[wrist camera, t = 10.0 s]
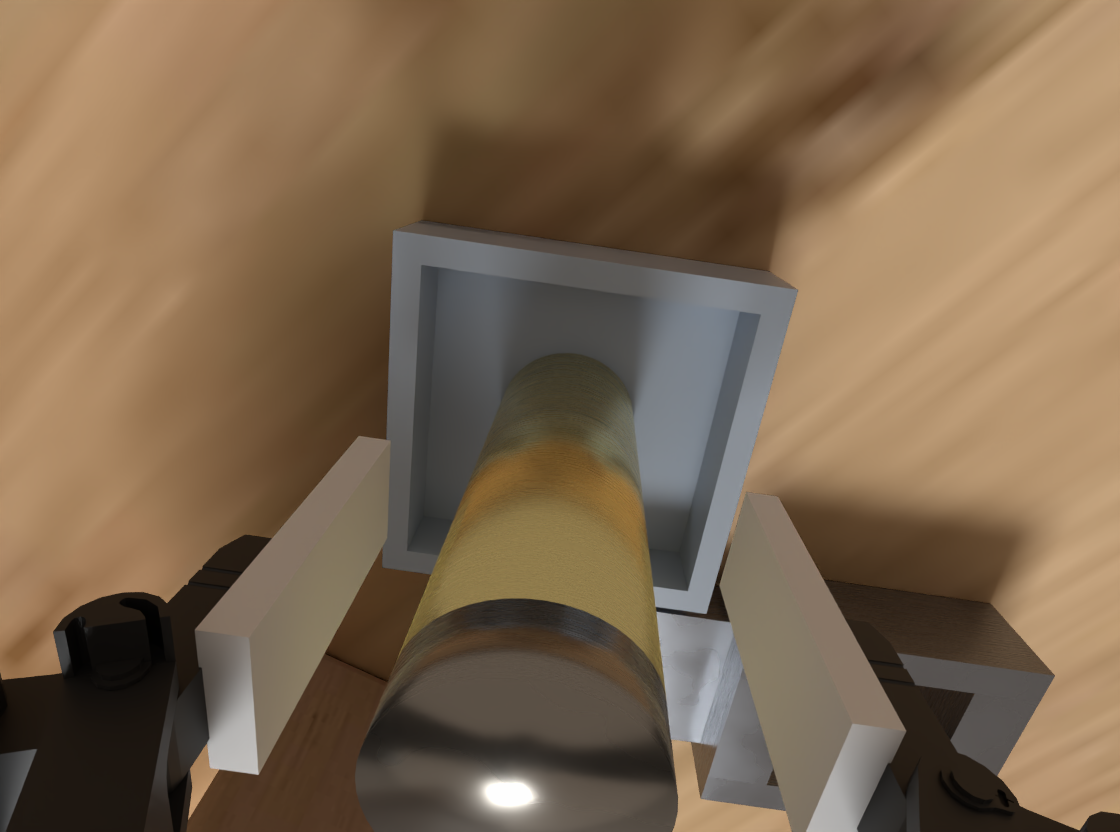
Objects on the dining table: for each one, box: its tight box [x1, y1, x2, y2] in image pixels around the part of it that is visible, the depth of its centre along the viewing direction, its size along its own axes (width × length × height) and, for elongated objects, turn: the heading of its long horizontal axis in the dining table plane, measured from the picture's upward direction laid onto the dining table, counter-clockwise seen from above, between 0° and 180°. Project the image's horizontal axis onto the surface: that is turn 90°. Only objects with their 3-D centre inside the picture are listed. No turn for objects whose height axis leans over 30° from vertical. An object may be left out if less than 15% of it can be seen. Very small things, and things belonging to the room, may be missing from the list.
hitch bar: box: [656, 580, 1055, 811], centre depth 24 cm, size 18×8×4 cm, turn 82°
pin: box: [355, 353, 678, 832], centre depth 15 cm, size 4×4×14 cm
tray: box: [382, 220, 798, 614], centre depth 20 cm, size 11×11×3 cm
